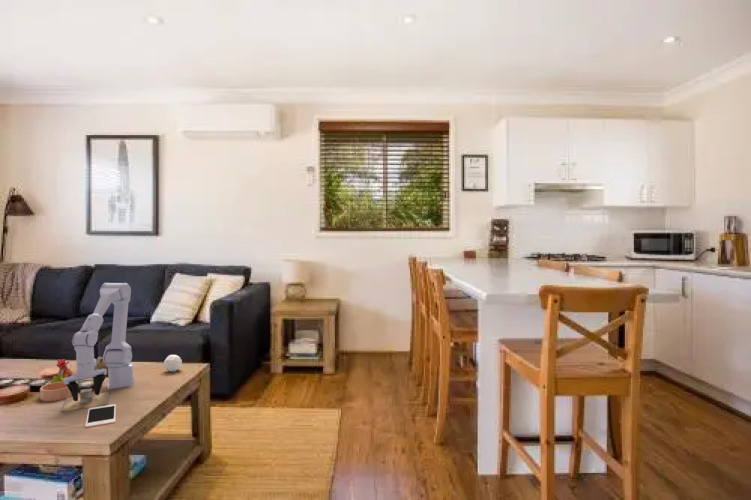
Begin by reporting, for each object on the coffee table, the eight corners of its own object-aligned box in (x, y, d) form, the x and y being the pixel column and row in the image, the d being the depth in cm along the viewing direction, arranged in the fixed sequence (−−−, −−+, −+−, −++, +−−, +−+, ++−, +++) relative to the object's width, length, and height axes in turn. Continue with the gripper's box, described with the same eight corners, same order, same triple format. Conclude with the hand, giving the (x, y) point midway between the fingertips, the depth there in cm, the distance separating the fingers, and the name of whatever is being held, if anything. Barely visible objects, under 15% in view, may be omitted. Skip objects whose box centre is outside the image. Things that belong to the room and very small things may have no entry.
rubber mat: (110, 393, 189) (110, 392, 189) (107, 406, 175) (107, 405, 175) (66, 400, 182) (66, 398, 182) (60, 413, 169) (60, 412, 169)
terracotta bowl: (75, 390, 193) (75, 379, 193) (72, 399, 183) (72, 388, 183) (43, 394, 188) (43, 383, 188) (38, 403, 178) (37, 392, 178)
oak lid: (108, 393, 188) (108, 382, 188) (106, 405, 176) (106, 393, 175) (67, 399, 182) (67, 387, 182) (62, 411, 169) (61, 399, 169)
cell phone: (85, 429, 157) (85, 426, 157) (88, 410, 173) (88, 407, 173) (115, 424, 161) (115, 421, 161) (116, 406, 177) (115, 403, 177)
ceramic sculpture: (94, 351, 221) (126, 353, 221) (94, 369, 221) (125, 371, 221) (80, 357, 210) (113, 359, 210) (79, 376, 211) (112, 378, 210)
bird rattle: (55, 387, 203) (47, 385, 194) (58, 361, 206) (51, 358, 198) (71, 386, 204) (65, 384, 196) (74, 360, 208) (68, 357, 200)
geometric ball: (169, 377, 217) (157, 366, 214) (175, 367, 225) (164, 355, 222) (181, 370, 216) (169, 358, 213) (187, 360, 223) (176, 348, 220)
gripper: (100, 356, 186) (100, 390, 187) (59, 365, 174) (60, 401, 175) (109, 359, 182) (109, 393, 183) (68, 368, 170) (69, 405, 171)
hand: (86, 397), depth 179 cm, fingers open, 7 cm apart
